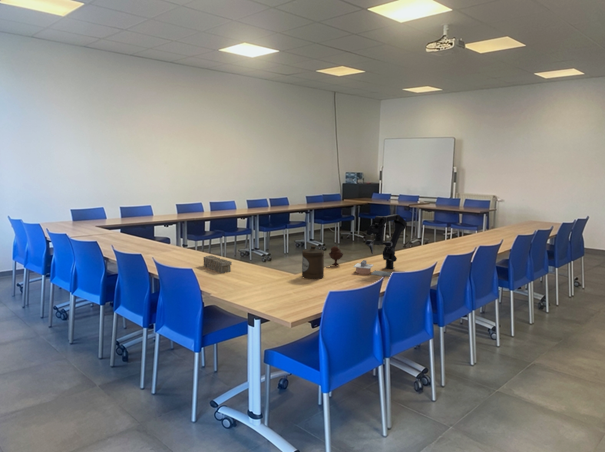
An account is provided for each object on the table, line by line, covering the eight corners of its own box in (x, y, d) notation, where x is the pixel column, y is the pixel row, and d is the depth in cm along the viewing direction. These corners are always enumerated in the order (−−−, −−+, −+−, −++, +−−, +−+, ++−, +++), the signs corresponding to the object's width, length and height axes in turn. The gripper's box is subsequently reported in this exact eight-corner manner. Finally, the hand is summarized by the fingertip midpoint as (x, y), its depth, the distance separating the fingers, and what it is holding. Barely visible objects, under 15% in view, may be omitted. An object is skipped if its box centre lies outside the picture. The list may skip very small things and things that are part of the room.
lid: (357, 263, 315) (357, 259, 315) (373, 265, 311) (373, 260, 310) (353, 267, 304) (353, 262, 303) (370, 268, 300) (370, 263, 299)
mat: (374, 270, 315) (374, 270, 315) (393, 273, 309) (393, 272, 309) (369, 275, 302) (369, 274, 302) (389, 277, 297) (389, 276, 296)
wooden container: (301, 274, 301) (301, 243, 298) (322, 274, 303) (322, 243, 300) (302, 279, 287) (303, 247, 284) (325, 279, 288) (325, 247, 285)
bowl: (359, 270, 315) (359, 264, 314) (372, 272, 310) (372, 265, 309) (353, 273, 307) (353, 266, 306) (366, 275, 301) (366, 268, 301)
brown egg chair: (342, 267, 326) (342, 247, 324) (327, 266, 328) (328, 246, 326) (343, 264, 336) (344, 245, 334) (329, 263, 338) (329, 244, 336)
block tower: (202, 267, 322) (221, 273, 299) (202, 256, 321) (221, 261, 299) (212, 266, 327) (231, 272, 304) (211, 255, 326) (231, 260, 304)
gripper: (363, 234, 308) (362, 255, 310) (389, 236, 300) (388, 258, 302) (367, 232, 318) (367, 252, 320) (393, 234, 311) (392, 255, 313)
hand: (378, 254), depth 313 cm, fingers open, 9 cm apart
